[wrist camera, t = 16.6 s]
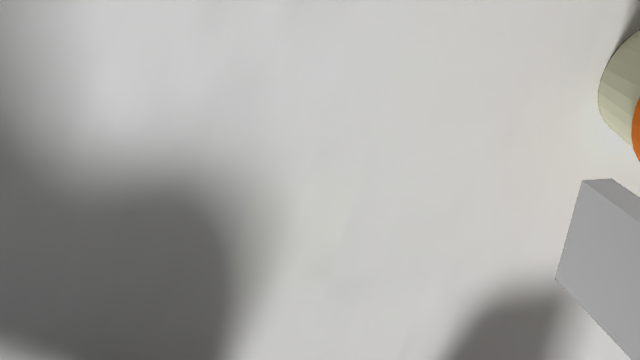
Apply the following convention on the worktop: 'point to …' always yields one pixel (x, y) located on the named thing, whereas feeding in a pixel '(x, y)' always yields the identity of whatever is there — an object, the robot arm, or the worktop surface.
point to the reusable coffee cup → (623, 92)
